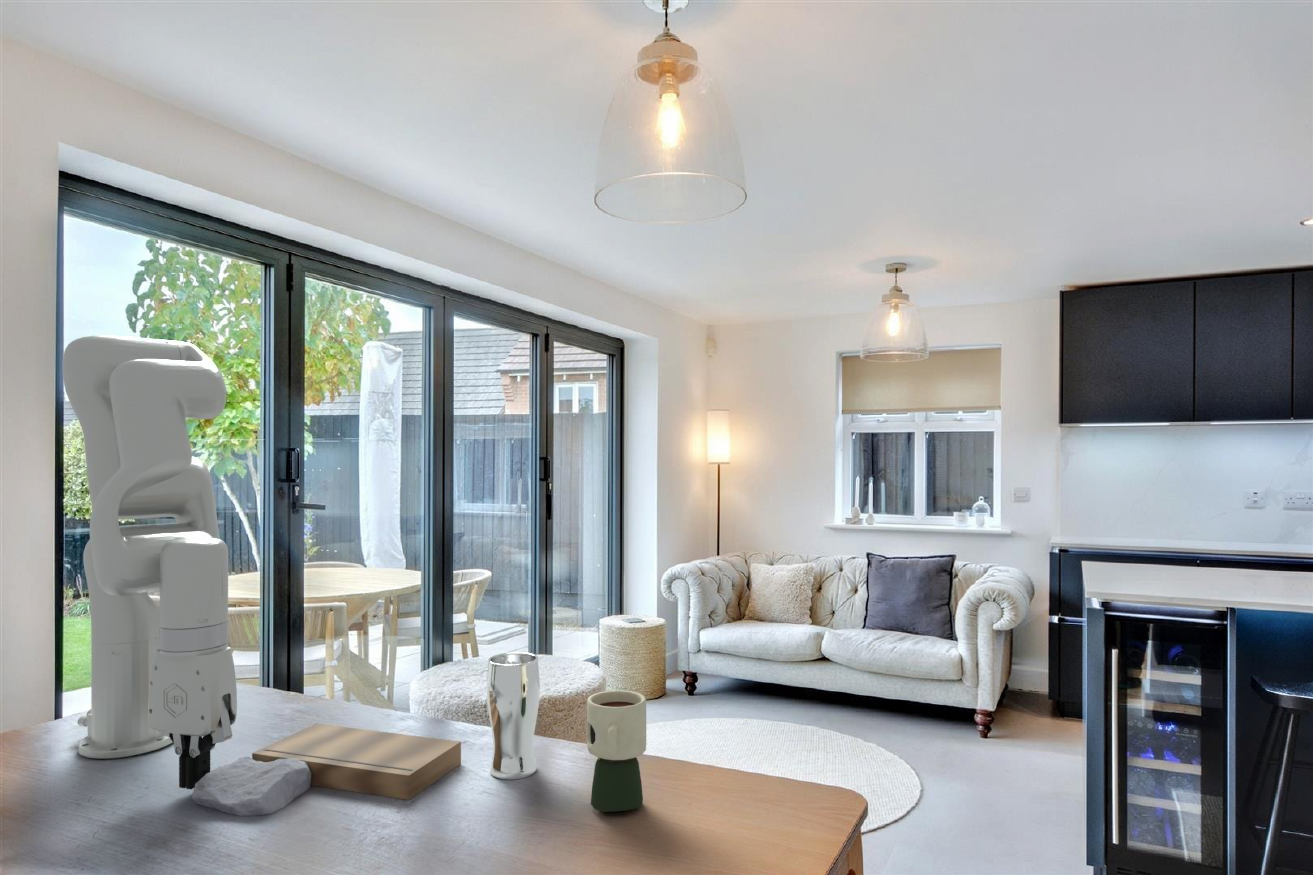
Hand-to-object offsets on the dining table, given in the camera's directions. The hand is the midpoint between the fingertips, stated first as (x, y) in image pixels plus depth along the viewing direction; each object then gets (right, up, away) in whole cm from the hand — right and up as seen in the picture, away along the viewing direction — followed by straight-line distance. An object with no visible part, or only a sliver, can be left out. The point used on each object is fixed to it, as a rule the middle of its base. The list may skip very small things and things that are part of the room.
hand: (194, 784), depth 103 cm
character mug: (+53, -1, -4) cm, 53 cm away
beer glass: (+39, -1, +7) cm, 39 cm away
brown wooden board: (+18, -1, +7) cm, 19 cm away
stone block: (+7, -2, -1) cm, 8 cm away
